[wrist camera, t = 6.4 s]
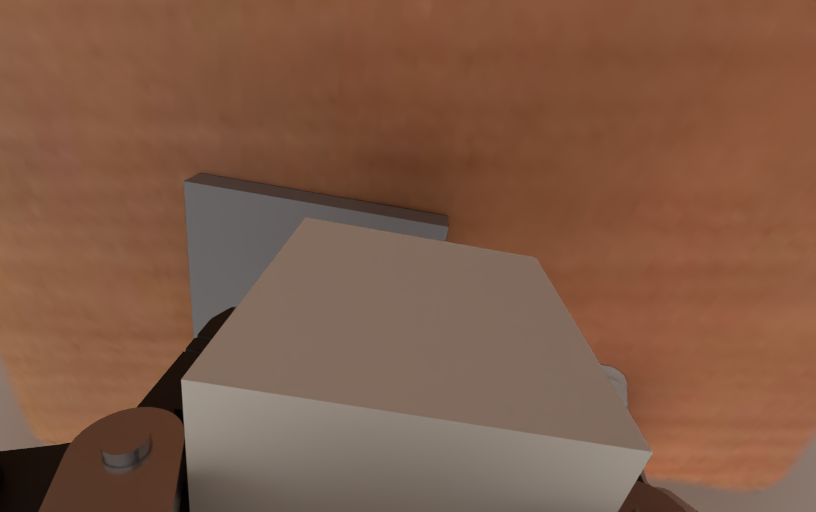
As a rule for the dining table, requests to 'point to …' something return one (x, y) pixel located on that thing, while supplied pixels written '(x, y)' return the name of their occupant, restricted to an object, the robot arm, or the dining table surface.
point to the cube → (403, 387)
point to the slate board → (266, 233)
